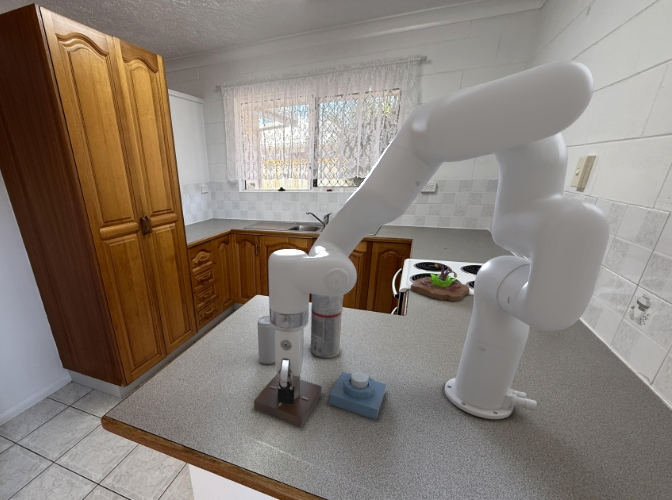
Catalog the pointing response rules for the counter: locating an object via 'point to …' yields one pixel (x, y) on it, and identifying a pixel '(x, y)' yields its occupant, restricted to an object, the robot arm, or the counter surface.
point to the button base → (358, 396)
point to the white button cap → (359, 380)
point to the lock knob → (295, 383)
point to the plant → (441, 286)
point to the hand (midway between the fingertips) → (288, 387)
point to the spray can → (326, 325)
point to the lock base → (288, 412)
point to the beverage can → (266, 340)
